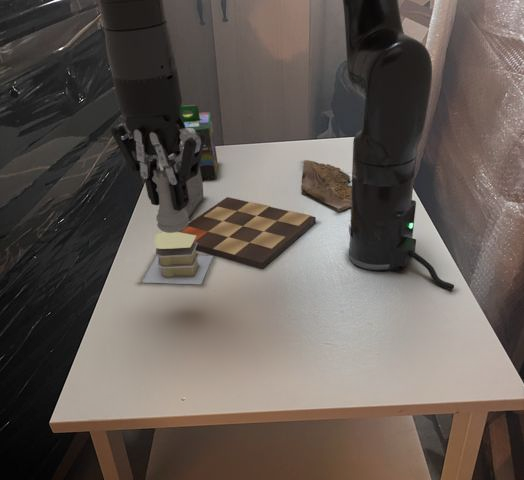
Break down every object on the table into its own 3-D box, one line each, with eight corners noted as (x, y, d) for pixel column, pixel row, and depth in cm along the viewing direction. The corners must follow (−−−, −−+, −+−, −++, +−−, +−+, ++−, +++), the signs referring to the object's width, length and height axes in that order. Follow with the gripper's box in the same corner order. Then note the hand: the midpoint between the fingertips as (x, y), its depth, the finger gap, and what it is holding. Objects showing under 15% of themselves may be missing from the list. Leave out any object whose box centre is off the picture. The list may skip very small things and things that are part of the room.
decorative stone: (192, 222, 111) (181, 144, 102) (163, 221, 112) (148, 144, 103) (208, 197, 119) (198, 123, 110) (180, 197, 120) (168, 122, 111)
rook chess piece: (165, 217, 83) (154, 162, 78) (194, 219, 82) (185, 163, 77) (152, 232, 80) (140, 176, 75) (182, 235, 79) (172, 177, 73)
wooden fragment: (369, 208, 110) (369, 202, 110) (312, 215, 110) (312, 210, 109) (335, 158, 130) (335, 153, 130) (286, 164, 130) (286, 160, 129)
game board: (315, 222, 108) (315, 216, 107) (262, 269, 97) (262, 262, 96) (227, 202, 117) (227, 196, 116) (169, 242, 106) (168, 236, 105)
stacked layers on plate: (213, 256, 101) (209, 227, 97) (201, 284, 94) (196, 254, 91) (157, 254, 102) (152, 226, 99) (141, 282, 96) (135, 253, 92)
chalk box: (217, 163, 133) (209, 95, 124) (216, 180, 126) (208, 109, 116) (177, 166, 133) (166, 98, 124) (174, 183, 126) (162, 112, 117)
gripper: (77, 72, 69) (112, 207, 80) (170, 81, 62) (194, 227, 73) (121, 55, 73) (148, 186, 84) (211, 63, 67) (228, 203, 78)
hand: (169, 204), depth 79 cm, fingers closed on rook chess piece, 3 cm apart
